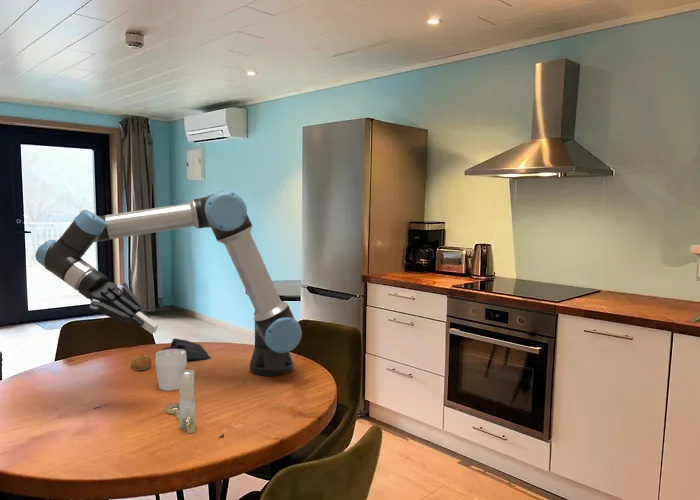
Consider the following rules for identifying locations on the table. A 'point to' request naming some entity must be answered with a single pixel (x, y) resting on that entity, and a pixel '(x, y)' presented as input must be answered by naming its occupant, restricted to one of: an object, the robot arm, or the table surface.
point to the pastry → (141, 362)
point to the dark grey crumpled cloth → (189, 349)
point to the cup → (170, 368)
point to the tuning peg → (185, 401)
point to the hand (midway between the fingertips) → (155, 329)
